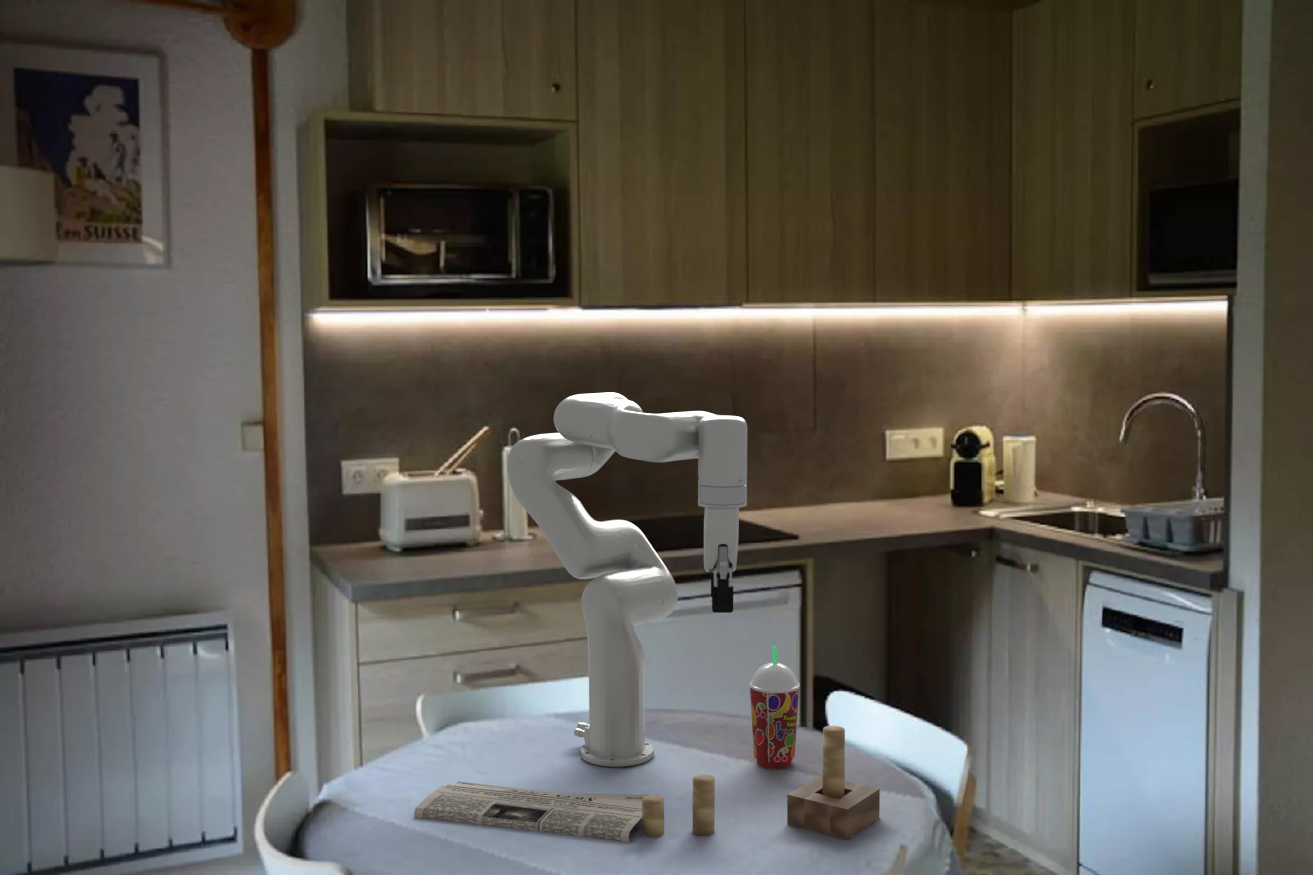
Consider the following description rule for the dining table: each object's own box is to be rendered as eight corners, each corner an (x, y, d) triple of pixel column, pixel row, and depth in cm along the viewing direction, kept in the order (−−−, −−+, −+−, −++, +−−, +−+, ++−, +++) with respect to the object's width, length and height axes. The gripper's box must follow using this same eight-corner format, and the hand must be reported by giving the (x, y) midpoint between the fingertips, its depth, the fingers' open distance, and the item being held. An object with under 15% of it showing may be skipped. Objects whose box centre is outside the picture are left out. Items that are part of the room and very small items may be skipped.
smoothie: (796, 774, 213) (797, 654, 211) (746, 770, 215) (746, 652, 213) (801, 757, 221) (802, 641, 219) (752, 753, 223) (752, 639, 221)
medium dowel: (688, 832, 189) (688, 780, 188) (698, 824, 192) (699, 772, 191) (708, 837, 188) (708, 784, 187) (718, 829, 190) (718, 777, 189)
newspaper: (414, 820, 196) (413, 798, 195) (450, 791, 208) (449, 770, 207) (637, 846, 186) (637, 822, 186) (662, 814, 198) (662, 791, 197)
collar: (787, 824, 192) (787, 794, 192) (820, 803, 200) (820, 775, 200) (847, 839, 186) (847, 809, 186) (879, 818, 194) (879, 788, 194)
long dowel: (818, 821, 193) (819, 730, 192) (829, 815, 196) (829, 724, 194) (837, 826, 191) (838, 734, 190) (848, 820, 194) (848, 728, 192)
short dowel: (637, 833, 189) (637, 800, 189) (651, 826, 192) (651, 793, 191) (654, 838, 187) (654, 805, 187) (668, 832, 190) (668, 798, 189)
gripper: (697, 487, 209) (697, 592, 211) (698, 504, 192) (698, 618, 194) (744, 488, 209) (743, 592, 211) (749, 504, 192) (748, 618, 194)
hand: (721, 604), depth 202 cm, fingers open, 9 cm apart
